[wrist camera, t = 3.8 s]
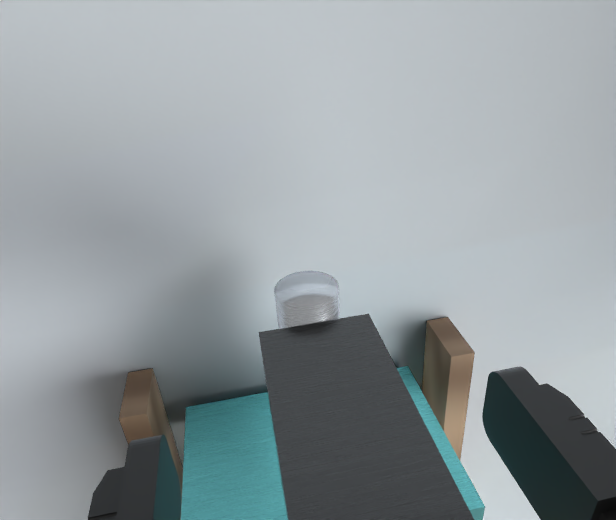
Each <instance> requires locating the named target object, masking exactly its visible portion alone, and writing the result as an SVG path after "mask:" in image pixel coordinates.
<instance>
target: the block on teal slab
mask: <svg viewBox="0 0 616 520" xmlns="http://www.w3.org/2000/svg"><path fill="white" fill-rule="evenodd" d="M274 291H275V300H276V308H277V316H278V324H279V329H276V330H270V331H264V332H259V337H260V344H261V351H262V358H263V364H264V371H265V378H266V385H267V391H268V392H265V393H259V394H254V395H249V396H243V397H238V398H233V399H227V400H222V401H216V402H211V403H206V404H200V405H195V406H189V407H186V419H185V441H184V462H183V484H182V505H181V520H482V519H483V514H484V509H485V506H484V504H483V502H482V500H481V499H480V497H479V495H478V493H477V491H476V489H475V488H474V486H473V484H472V482H471V480H470V478H469V477H468V475H467V473H466V471H465V469H464V467H463V466H462V464H461V462H460V460H459V458H458V457H457V455H456V453H455V451H454V449H453V447H452V446H451V444H450V442H449V440H448V438H447V436H446V435H445V433H444V431H443V429H442V427H441V425H440V424H439V422H438V420H437V418H436V416H435V415H434V413H433V411H432V409H431V407H430V405H429V404H428V402H427V400H426V398H425V396H424V394H423V393H422V391H421V389H420V387H419V385H418V383H417V382H416V380H415V378H414V376H413V374H412V373H411V371H410V369H409V367H408V366H405V367H400V368H396V366H395V364H394V362H393V360H392V358H391V356H390V355H389V353H388V351H387V349H386V347H385V345H384V343H383V341H382V339H381V337H380V335H379V333H378V331H377V329H376V327H375V325H374V323H373V321H372V320H371V318H370V316H369V314H365V315H359V316H353V317H347V318H341V319H340V309H339V286H338V282H337V281H336V280H335V279H334V278H333V277H332V276H330V275H328V274H325V273H322V272H316V271H303V272H297V273H293V274H290V275H288V276H286V277H284V278H283V279H281V280H280V281H279V282H278V283H277V284H276V286H275V290H274Z"/></svg>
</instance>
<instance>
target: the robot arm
mask: <svg viewBox="0 0 616 520" xmlns="http://www.w3.org/2000/svg"><path fill="white" fill-rule="evenodd" d="M483 424H484V428H485V431H486V434H487V436H488V438H489V440H490V441H491V443H492V445H493V446H494V448H495V449H496V451H497V452H498V454H499V455H500V457H501V459H502V460H503V462H504V463H505V465H506V466H507V468H508V469H509V471H510V473H511V474H512V476H513V477H514V479H515V480H516V482H517V483H518V485H519V487H520V488H521V490H522V491H523V493H524V494H525V496H526V497H527V499H528V501H529V502H530V504H531V505H532V507H533V508H534V510H535V511H536V513H537V515H538V516H539V518H540V519H541V520H616V449H615V448H614V447H613V446H612V445H611V443H610V442H609V441H608V440H607V439H606V438H605V437H604V436H603V435H602V434H601V432H598V431H597V428H596V427H595V426H594V425H593V424H592V423H591V421H590V420H589V419H588V418H585V417H584V414H583V413H582V412H581V410H580V409H579V408H578V407H577V406H576V405H575V404H574V403H573V402H572V401H571V399H570V398H569V397H568V396H566V395H564V394H563V393H561V392H560V391H558V390H556V389H555V388H553V387H552V386H550V385H549V384H542V385H539V384H538V383H537V382H536V381H535V379H534V378H533V377H532V376H531V375H530V374H529V372H528V371H527V370H526V369H524V368H523V367H515V368H510V369H505V370H500V371H494V372H491V373H490V374H489V377H488V382H487V389H486V395H485V402H484V408H483ZM180 514H181V492H180V483H179V478H178V474H177V471H176V467H175V464H174V461H173V458H172V455H171V451H170V448H169V445H168V442H167V439H166V437H165V435H164V434H163V435H158V436H153V437H148V438H143V439H138V440H132V441H131V442H130V443H129V446H128V451H127V457H126V462H125V467H122V468H117V469H112V470H108V471H107V472H106V474H105V476H104V477H103V479H102V480H101V482H100V483H99V485H98V487H97V488H96V490H95V491H94V493H93V497H92V501H91V506H90V510H89V515H88V520H180Z"/></svg>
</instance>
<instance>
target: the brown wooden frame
mask: <svg viewBox="0 0 616 520" xmlns="http://www.w3.org/2000/svg"><path fill="white" fill-rule="evenodd" d="M474 354H475V352H474V351H473V350H472V348H471V347H470V346H469V344H468V343H467V342H466V340H465V339H464V338H463V337H462V335H461V334H460V333H459V331H458V330H457V329H456V327H455V326H454V325H453V323H452V322H451V321H450V319H449V318H448V317H445V318H439V319H434V320H428V321H427V324H426V339H425V353H424V368H423V383H422V393H423V394H424V396H425V398H426V400H427V402H428V404H429V405H430V407H431V409H432V411H433V413H434V415H435V416H436V418H437V420H438V422H439V424H440V425H441V427H442V429H443V431H444V433H445V435H446V436H447V438H448V440H449V442H450V444H451V446H452V447H453V449H454V451H455V453H456V455H457V457H458V458H459V460H460V457H461V450H462V442H463V435H464V428H465V420H466V413H467V406H468V398H469V391H470V383H471V376H472V369H473V361H474ZM119 421H120V423H121V426H122V429H123V432H124V434H125V437H126V440H127V442H128V445H129V443H130V442H131V441H132V440H138V439H143V438H148V437H153V436H158V435H163V434H164V435H165V437H166V439H167V442H168V445H169V448H170V451H171V455H172V458H173V461H174V464H175V467H176V471H177V474H178V478H179V483H180V492H181V505H182V484H183V467H182V464H181V461H180V457H179V454H178V451H177V447H176V444H175V441H174V437H173V434H172V431H171V427H170V424H169V421H168V417H167V414H166V411H165V407H164V404H163V401H162V397H161V394H160V391H159V387H158V384H157V380H156V377H155V374H154V370H153V368H152V369H146V370H140V371H134V372H129V373H128V376H127V380H126V385H125V390H124V395H123V400H122V405H121V410H120V415H119ZM180 520H181V514H180Z"/></svg>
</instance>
